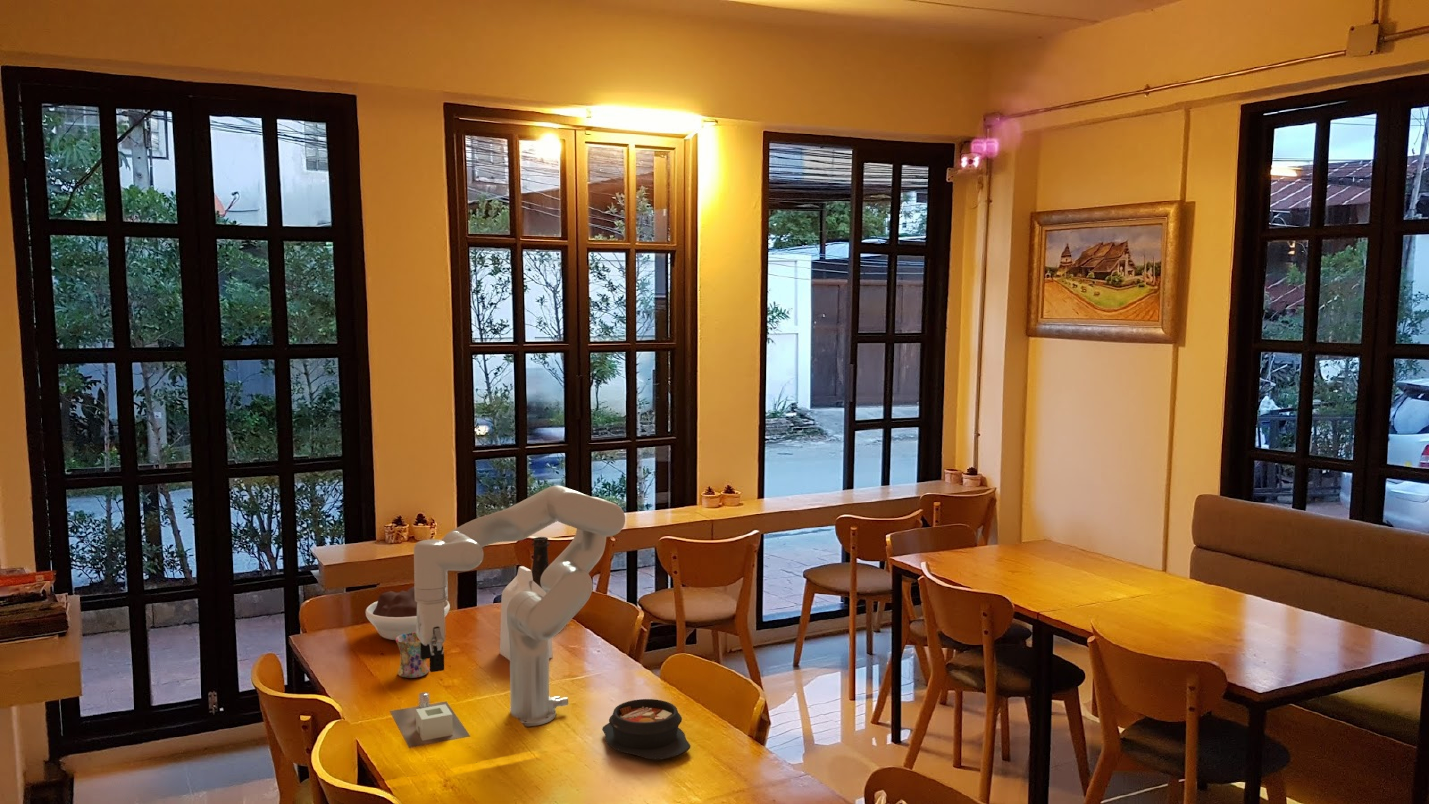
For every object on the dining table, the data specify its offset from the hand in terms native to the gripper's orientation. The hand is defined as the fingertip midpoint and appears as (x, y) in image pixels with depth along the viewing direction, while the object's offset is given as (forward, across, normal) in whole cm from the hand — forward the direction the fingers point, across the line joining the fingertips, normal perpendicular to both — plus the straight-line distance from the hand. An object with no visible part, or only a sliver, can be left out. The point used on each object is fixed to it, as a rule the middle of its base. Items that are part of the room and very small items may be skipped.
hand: (432, 664), depth 241 cm
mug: (+18, -47, +4) cm, 51 cm away
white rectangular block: (+16, 0, 0) cm, 17 cm away
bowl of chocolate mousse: (+18, -81, +10) cm, 84 cm away
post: (+16, -12, 0) cm, 20 cm away
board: (+18, -6, 0) cm, 19 cm away
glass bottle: (+18, -75, +51) cm, 93 cm away
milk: (+18, -47, +37) cm, 63 cm away
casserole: (+18, +26, +43) cm, 54 cm away
